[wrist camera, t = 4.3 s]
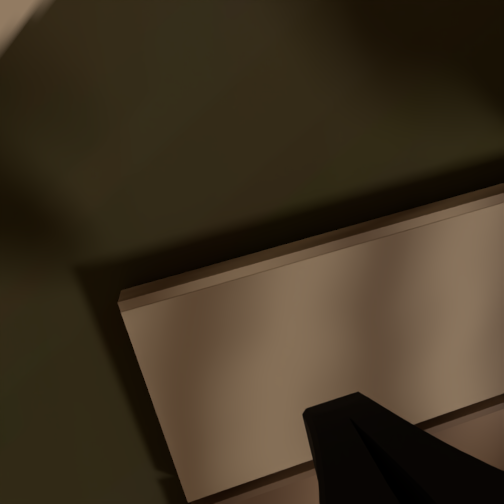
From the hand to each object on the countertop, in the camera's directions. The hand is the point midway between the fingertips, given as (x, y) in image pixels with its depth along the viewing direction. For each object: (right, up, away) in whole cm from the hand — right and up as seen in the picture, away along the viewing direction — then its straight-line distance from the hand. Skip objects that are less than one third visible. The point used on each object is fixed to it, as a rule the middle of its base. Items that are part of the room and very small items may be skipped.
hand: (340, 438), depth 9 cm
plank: (+3, +1, +8) cm, 8 cm away
